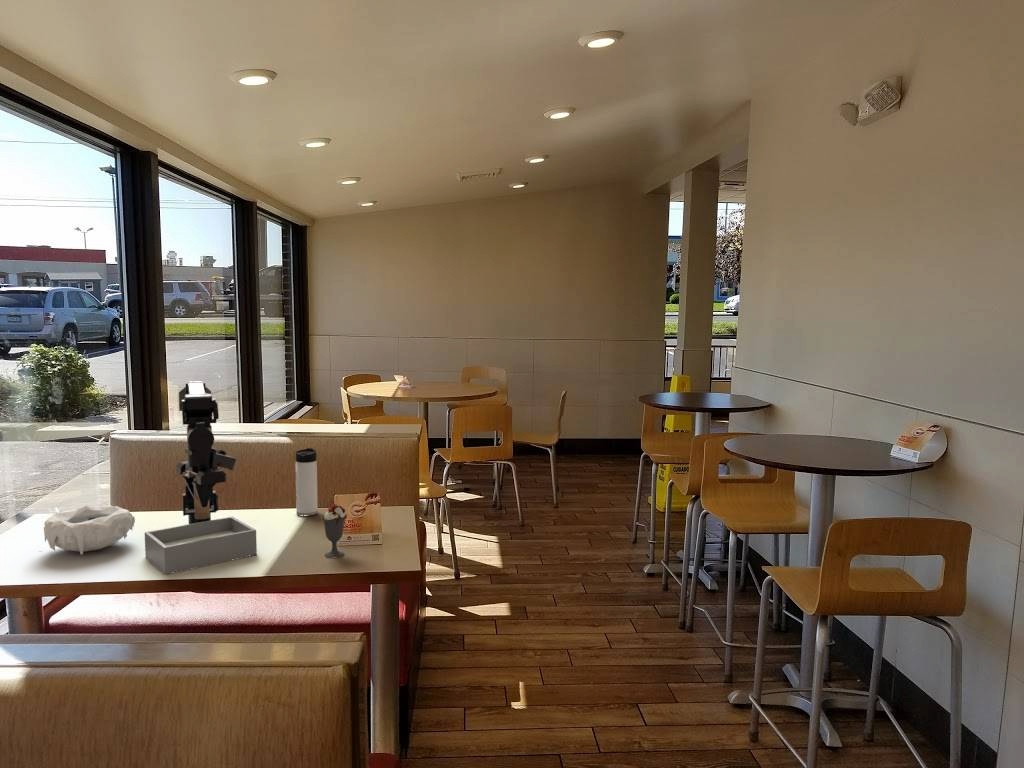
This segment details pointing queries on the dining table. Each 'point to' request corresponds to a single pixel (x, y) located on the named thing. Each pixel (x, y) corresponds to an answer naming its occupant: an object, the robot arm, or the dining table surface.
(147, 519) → the dining table surface
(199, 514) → the peg
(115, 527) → the bowl
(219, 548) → the box
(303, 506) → the travel mug
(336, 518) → the sundae
